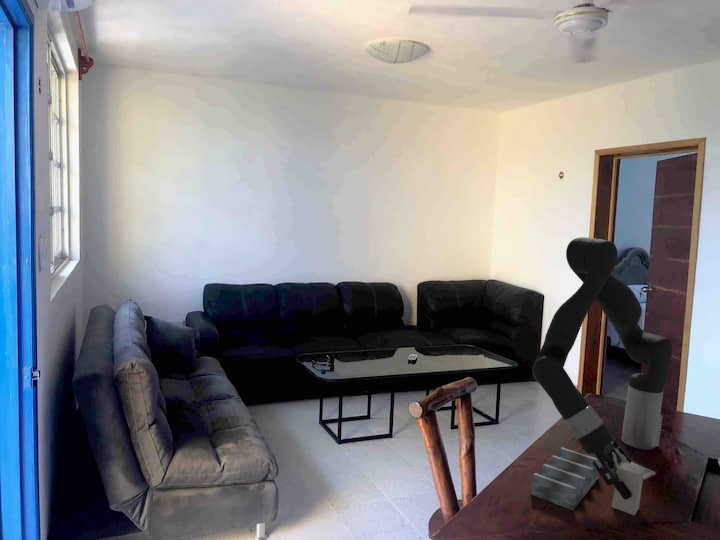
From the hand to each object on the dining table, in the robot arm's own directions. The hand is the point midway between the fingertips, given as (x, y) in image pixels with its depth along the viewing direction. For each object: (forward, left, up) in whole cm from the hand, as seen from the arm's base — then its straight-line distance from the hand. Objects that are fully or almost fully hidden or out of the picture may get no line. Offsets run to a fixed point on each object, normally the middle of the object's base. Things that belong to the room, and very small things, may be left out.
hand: (633, 490), depth 136 cm
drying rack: (+10, -12, -5) cm, 16 cm away
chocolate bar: (-12, -22, -5) cm, 26 cm away
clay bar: (+1, -1, -5) cm, 5 cm away
